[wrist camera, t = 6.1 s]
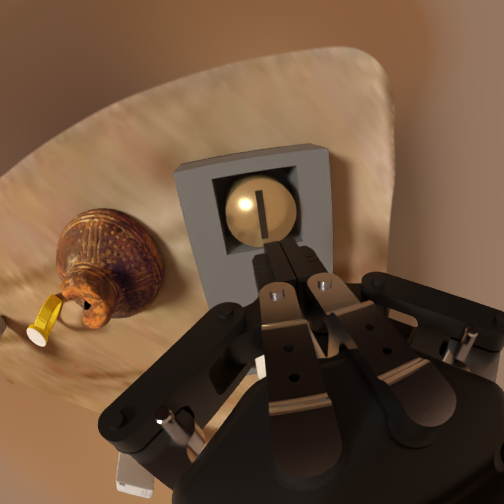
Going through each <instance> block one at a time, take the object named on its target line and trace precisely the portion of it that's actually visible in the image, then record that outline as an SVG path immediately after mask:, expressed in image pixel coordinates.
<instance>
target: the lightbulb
mask: <svg viewBox="0 0 504 504" xmlns="http://www.w3.org/2000/svg"><path fill="white" fill-rule="evenodd" d="M5 329H6V323H5V320H4V319H3V318H2V317H0V340H1V338H2V334H3V333H4V331H5Z"/></svg>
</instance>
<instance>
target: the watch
mask: <svg viewBox="0 0 504 504" xmlns="http://www.w3.org/2000/svg"><path fill="white" fill-rule="evenodd" d="M61 305H62V300H61V299H59V298H58V297H57V296H55V295H54V294H52V295H51V296H50V297H49V298H48V299H47V300H46V302H45V303H44V305H43V306H42V308H41V310H40V312H39V314H38V317H37V319H36V321H35V324H31V325H29V327H28V328H27V335H28V337H29V338H30V339H31V340H32V341H33V342H34V343H35V344H37V345H39V346H46V344H47V342H48V336H49V334H50V332H51V330H52V328H53V326H54V324H55V322H56V320H57V317H58V315H59V311H60V308H61Z"/></svg>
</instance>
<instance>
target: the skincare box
mask: <svg viewBox="0 0 504 504" xmlns="http://www.w3.org/2000/svg"><path fill="white" fill-rule="evenodd" d="M116 483H117V486H116V487H117V490H119V491H121V492H125V493H129V494H133V495H137V496H141V497H145V498H150V497H151V495H152V493H153V490H154V476H153V475H152V474H151V473H150V472H148V471H147V470H146V469H145V468H144V467H142V466H141V465H139V464H137V463H135V462H133V461H132V460H131V459H129V458H128V457H126V456H125V455H124V454H122V453H121V452H120V454H119V460H118V467H117V475H116Z"/></svg>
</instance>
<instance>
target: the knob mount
mask: <svg viewBox="0 0 504 504" xmlns="http://www.w3.org/2000/svg"><path fill="white" fill-rule="evenodd" d="M255 171H265V172H268V173H270V174H271V175H273V176H274V177H275V178H276V179H277V180H278V181H279V182H280V183H281V184H282V185H283V186H284V187H285V188H286V189H287V190H288V191H289V192H290V194H291V195H292V197H293V199H294V201H295V204H296V220H295V223H294V225H293V227H292V229H291V231H290V232H289V233H288V235H287V236H286V237H285V238H283V239H282V240H284V239H290V238H294V239H295V241H296V242H297V244H298V246H299V247H300V246H305V245H306V246H308V247H309V248H311V249H313V250H314V252H315V253H316V255H317V256H318V258H319V259H320V261H321V262H322V264H323V265H324V267H325V268H326V270H327V271H328V273H332V274H333V226H332V198H331V179H330V165H329V152H328V148H325V147H322V146H318V145H314V144H301V145H292V146H283V147H275V148H268V149H261V150H254V151H247V152H241V153H235V154H230V155H224V156H219V157H213V158H208V159H203V160H198V161H194V162H189V163H184V164H181V165H180V166H179V167H178V168H177V169H176V170H175V171H174V173H173V174H174V179H175V183H176V187H177V192H178V196H179V200H180V204H181V208H182V212H183V216H184V220H185V224H186V228H187V232H188V236H189V240H190V243H191V247H192V251H193V255H194V258H195V262H196V265H197V269H198V272H199V276H200V279H201V283H202V286H203V290H204V293H205V296H206V300H207V303H208V306H209V310H210V309H211V308H213V307H214V306H216V305H218V304H220V303H224V302H235V303H238V304H240V305H241V306H242V307H245V306H247V305H249V304H251V303H253V302H254V301H255V300H256V299H257V298H258V292H257V287H256V282H255V276H254V270H253V264H252V260H253V258H254V256H255V255H257V254H263V253H264V247H253V246H249V245H246V244H244V243H242V242H240V241H239V240H238V239H237V238H235V237H234V235H233V234H232V233H231V231H230V230H229V227H228V225H227V221H226V210H225V193H226V190H227V188H228V185H229V184H230V182H231V181H232V180H233V179H234V178H235V177H236V176H238V175H239V174H243V173H248V172H255ZM307 323H308V322H307ZM308 327H309V324H308ZM313 344H314V343H313ZM314 348H315V351H316V355H317V358H321V357H320V355H319V353H318V351H317V349H316V347H315V345H314ZM251 374H257V367H256V361H255V362H254V365H253V366H252V368H251V369H250V370H249V372H248V373H247V374H246V375H251Z"/></svg>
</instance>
